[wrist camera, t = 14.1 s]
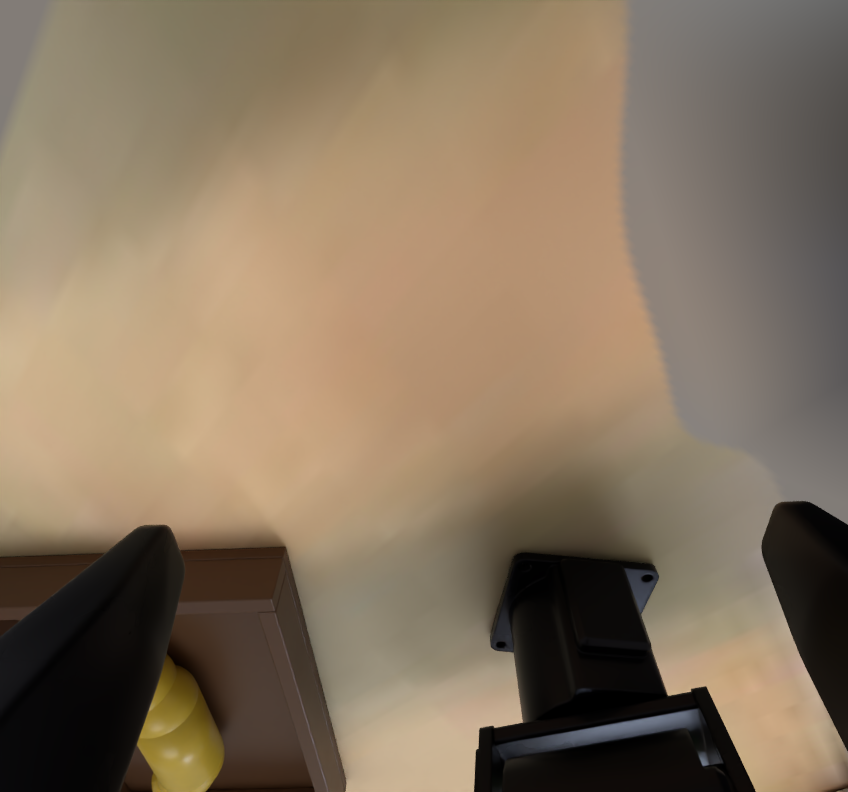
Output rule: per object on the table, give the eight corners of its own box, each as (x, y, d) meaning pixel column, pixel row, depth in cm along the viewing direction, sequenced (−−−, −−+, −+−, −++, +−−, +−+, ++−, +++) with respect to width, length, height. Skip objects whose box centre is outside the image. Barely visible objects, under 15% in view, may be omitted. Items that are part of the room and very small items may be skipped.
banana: (250, 768, 36) (234, 834, 33) (158, 770, 36) (135, 836, 33) (178, 600, 27) (149, 669, 24) (60, 604, 28) (17, 673, 25)
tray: (346, 782, 38) (341, 833, 35) (127, 786, 38) (107, 837, 36) (285, 546, 26) (272, 599, 24) (-27, 557, 27) (-71, 610, 24)
